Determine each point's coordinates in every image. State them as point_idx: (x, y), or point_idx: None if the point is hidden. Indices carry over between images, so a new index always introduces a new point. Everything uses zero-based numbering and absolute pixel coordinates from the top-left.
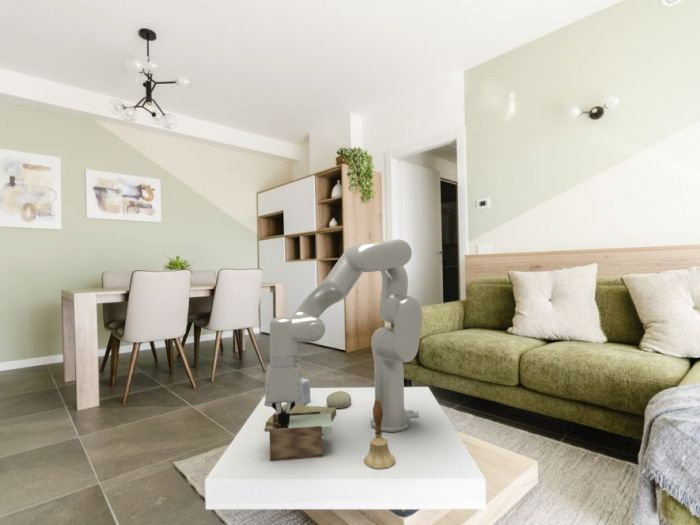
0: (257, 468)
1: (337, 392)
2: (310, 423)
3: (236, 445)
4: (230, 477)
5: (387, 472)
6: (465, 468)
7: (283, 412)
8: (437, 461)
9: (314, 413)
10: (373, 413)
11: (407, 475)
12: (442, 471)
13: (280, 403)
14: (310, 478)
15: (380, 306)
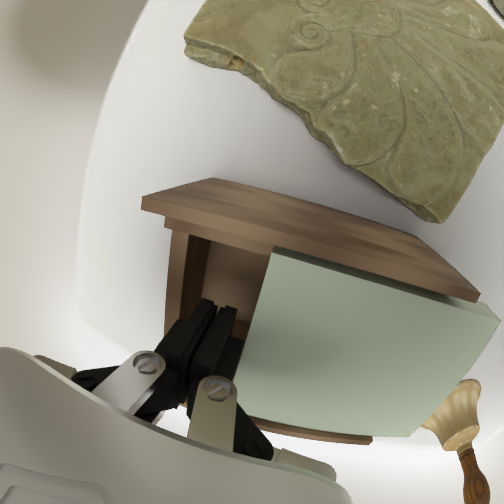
0: (157, 334)
1: None
2: (351, 403)
3: (91, 160)
4: (106, 335)
5: (426, 433)
6: (499, 429)
7: (186, 381)
8: (499, 414)
9: (445, 292)
10: (465, 499)
11: None
12: (478, 434)
13: (133, 405)
14: None
15: None
